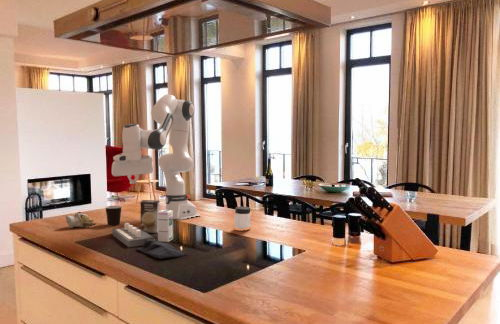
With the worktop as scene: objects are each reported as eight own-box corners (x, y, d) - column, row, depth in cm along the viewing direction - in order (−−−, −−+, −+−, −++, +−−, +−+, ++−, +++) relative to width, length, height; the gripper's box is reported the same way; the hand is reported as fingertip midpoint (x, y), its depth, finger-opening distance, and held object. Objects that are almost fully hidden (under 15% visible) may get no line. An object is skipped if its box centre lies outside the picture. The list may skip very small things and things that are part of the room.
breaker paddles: (127, 228, 211) (127, 222, 210) (141, 237, 194) (140, 230, 194) (124, 229, 210) (124, 223, 209) (137, 237, 193) (137, 231, 193)
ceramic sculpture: (65, 210, 226) (93, 209, 233) (64, 226, 227) (93, 225, 234) (66, 214, 217) (96, 213, 224) (66, 230, 217) (96, 229, 225)
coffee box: (139, 232, 215) (139, 202, 214) (142, 229, 222) (142, 200, 220) (157, 232, 216) (157, 202, 214) (159, 229, 222) (159, 200, 221)
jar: (253, 230, 224) (253, 208, 223) (241, 232, 219) (242, 209, 218) (243, 227, 231) (243, 205, 230) (231, 229, 226) (231, 207, 225)
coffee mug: (118, 226, 228) (118, 208, 227) (103, 226, 228) (103, 208, 227) (125, 221, 240) (125, 204, 239) (110, 221, 240) (110, 204, 239)
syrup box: (168, 242, 198) (168, 212, 197) (157, 241, 199) (157, 211, 198) (173, 239, 203) (173, 209, 202) (162, 238, 205) (162, 209, 204)
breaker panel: (135, 232, 216) (135, 225, 216) (153, 243, 195) (153, 236, 195) (112, 234, 210) (112, 228, 209) (128, 247, 188) (128, 240, 188)
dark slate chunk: (155, 263, 168) (155, 251, 168) (134, 250, 185) (134, 239, 185) (188, 256, 177) (188, 245, 177) (165, 245, 195) (165, 235, 194)
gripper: (149, 154, 215) (150, 181, 217) (109, 157, 204) (111, 184, 205) (154, 155, 210) (155, 182, 211) (113, 157, 198) (115, 186, 200)
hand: (133, 183), depth 208 cm, fingers closed
